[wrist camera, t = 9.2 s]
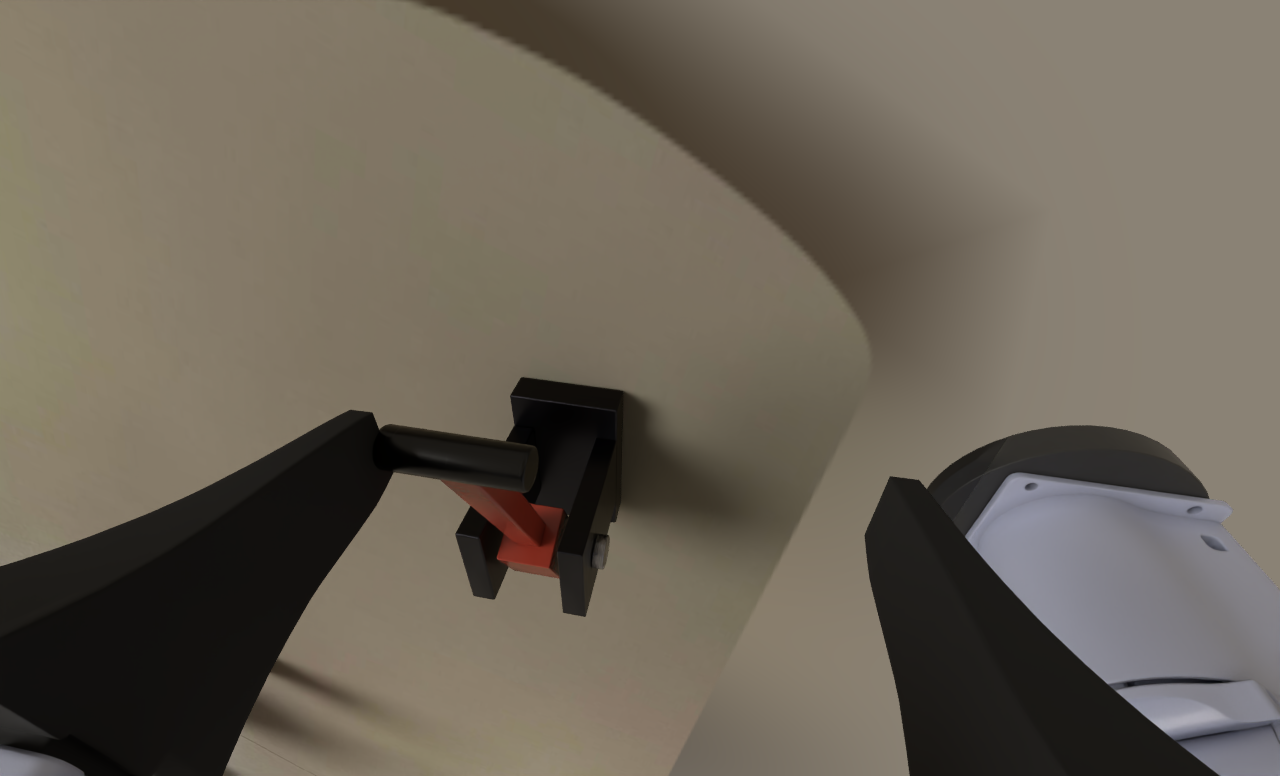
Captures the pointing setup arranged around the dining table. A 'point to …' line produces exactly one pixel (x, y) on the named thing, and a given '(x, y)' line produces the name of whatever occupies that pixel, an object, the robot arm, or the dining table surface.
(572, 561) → the bracket
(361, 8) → the dining table surface
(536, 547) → the lever
